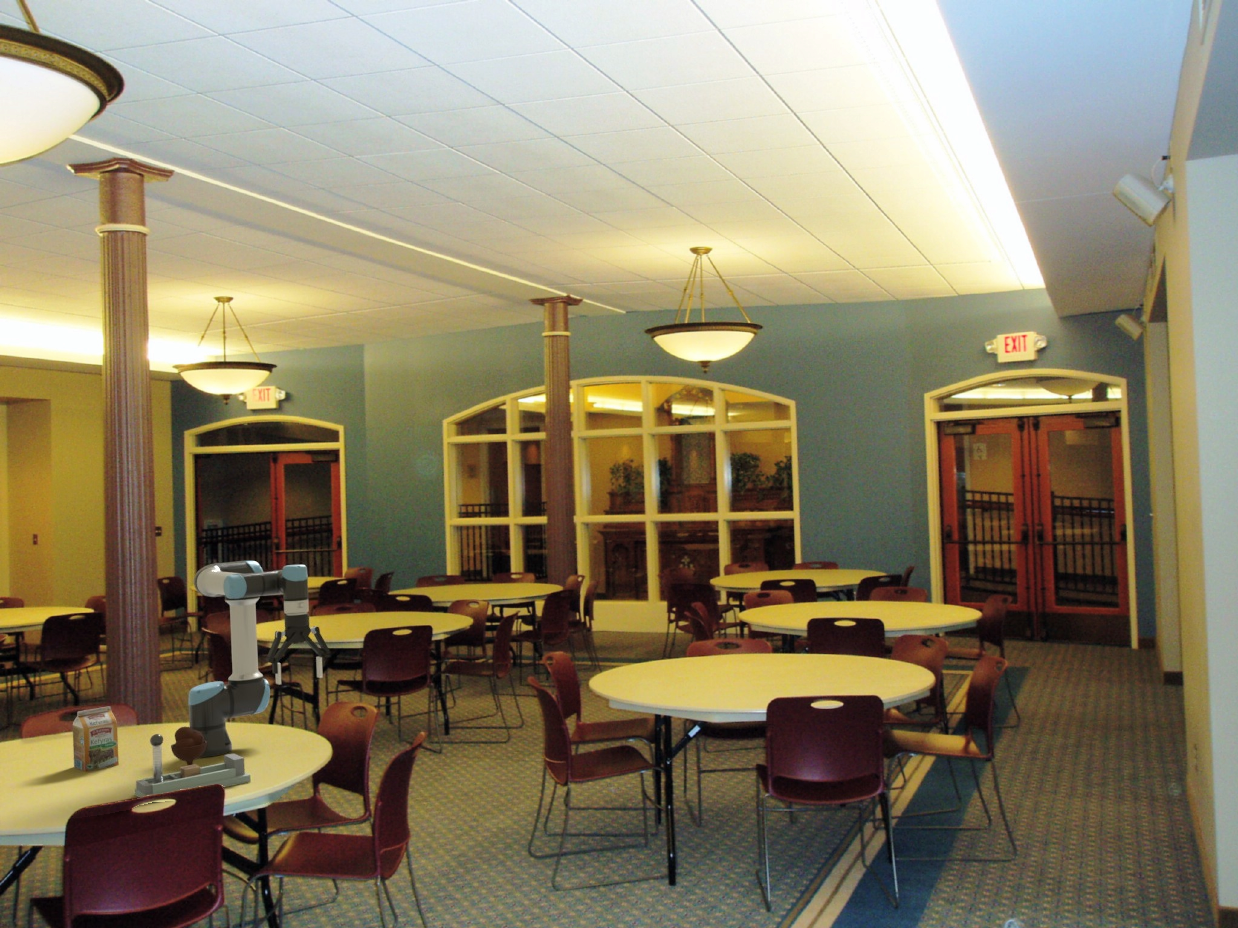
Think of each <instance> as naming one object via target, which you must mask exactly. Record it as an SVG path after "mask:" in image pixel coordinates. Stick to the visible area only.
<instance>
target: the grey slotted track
mask: <svg viewBox="0 0 1238 928" xmlns="http://www.w3.org/2000/svg"><path fill="white" fill-rule="evenodd" d="M223 757H224V762H221V763H216V764H211V765H207V766H206V765H205V766H202V767H201V766H200V775H196V776H191V777H186V778H181V779H180V771H177V772H176V771H175V772H171V773H170V772H169V773H166V774H162V775H163V779H166V778H169V774H173V775H175V776H177V777H179V779H176V780H171V781H166V782H161V783H156V784H150V783H148V782H151V781H154V776H150V777H146V778H142V779H140V780H139V779H138V780H135V784H136V785H135V787H134V796H136V797H137V798H139V797H143V796H147V795H155V794H163V793H167V792H173V791H178V790H180V789H188V788H195V787H199V786H207V785H214V784H221V785H223V786H225V787H224V788H226V787H232V786H235V785H240V784H246V783H250V782H251V774H249V773H247V772H245V757H244V756H241V755H238V754H237V753H229V754H223Z"/></svg>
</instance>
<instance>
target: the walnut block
mask: <svg viewBox="0 0 1238 928" xmlns="http://www.w3.org/2000/svg"><path fill="white" fill-rule="evenodd" d="M200 767H201V765H198V764H193V765H188V766H187V765H184V766H179V772H180V779H181V778H186V777H191V776H196V775H200Z"/></svg>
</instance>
